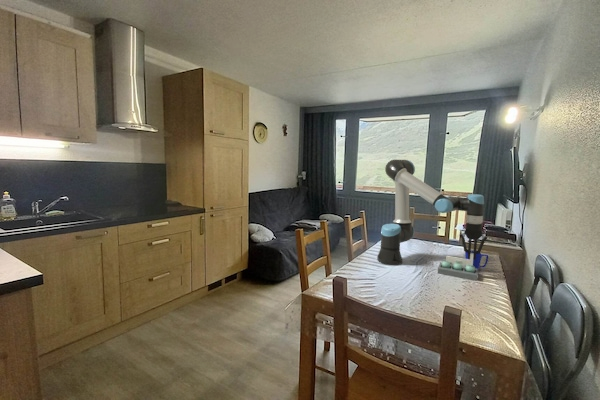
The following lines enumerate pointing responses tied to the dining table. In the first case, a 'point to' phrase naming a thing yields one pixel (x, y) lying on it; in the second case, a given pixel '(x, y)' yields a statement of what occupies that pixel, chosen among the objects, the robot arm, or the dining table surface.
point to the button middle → (457, 266)
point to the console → (457, 272)
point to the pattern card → (458, 260)
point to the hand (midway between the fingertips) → (471, 264)
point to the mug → (477, 259)
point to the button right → (470, 268)
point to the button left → (445, 264)
